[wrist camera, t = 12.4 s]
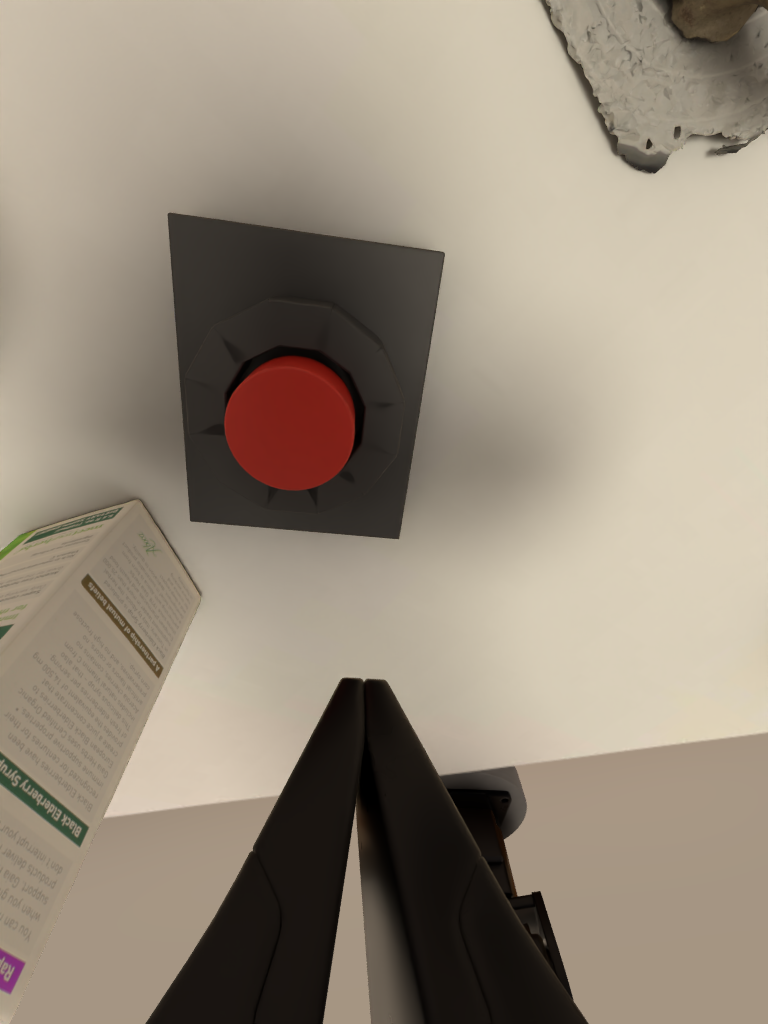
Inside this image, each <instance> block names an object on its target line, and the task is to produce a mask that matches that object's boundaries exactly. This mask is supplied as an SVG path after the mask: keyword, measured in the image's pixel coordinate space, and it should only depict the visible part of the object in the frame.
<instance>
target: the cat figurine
mask: <svg viewBox="0 0 768 1024" xmlns="http://www.w3.org/2000/svg"><path fill="white" fill-rule="evenodd" d="M546 3H547V5H548V6H550V7H551V9H550V13H551V20H552V22H553V24H554V25H555V26H556V28H558V29H560V30H561V31H562V32H563V33H564V35H565V37H566V40H567V42H568V48H567V50H568V53H569V55H570V56H571V57H572V58H573V59H574V60H575V61H576V62H577V63H578V64H582V65H581V66H582V67H583V69H584V75H585V77H586V78H587V79H588V80H589V82H590V84H591V86H592V89H593V95H594V97H596V96H597V97H598V99H599V103H601V104H602V105H600V106H599V107H598V111H599V113H602V115H603V117H604V118H605V119H606V121H605V124H606V126H607V128H608V131H609V133H610V134H613V135H616V136H617V137H618V144H617V150H618V155H621V154H622V155H625V157H626V160H627V162H629V163H631V164H632V166H633V167H634V168H635V167H638V170H645V171H647V172H649V173H656V172H657V171H658V170H660V169H661V168H662V167H663V166H664V165H665V164H666V161H667V159H668V157H669V155H670V154H671V152H672V151H677V150H678V149H679V148H681V149H683V144H685V141H686V138H688V137H689V136H690V135H691V134H700V135H706V136H709V135H714V134H717V133H720V132H722V135H723V136H724V137H726V138H727V137H728V136H729V139H730V140H731V139H735V138H736V136H737V137H738V138H737V139H742V140H748V139H750V140H748V142H747V143H745V144H739V145H735V146H727V147H726V146H725V145H723V148H720V149H719V150H718V151H717V152H715V153H717V155H718V154H727V153H737V152H738V151H739V150H740V149H741V148H743V147H746V146H747V145H748V144H749V143H750V142H751V141H753V140H755V139H756V138H757V137H759V136H760V135H761V134H765V131H766V130H767V129H768V0H546ZM552 12H553V13H552ZM678 126H681V134H680V138H678V139H675V138H674V129H675V127H678ZM648 139H650V140H651V142H652V143H653V145H652V147H651V148H650V149H645V148H646V144H647V140H648Z"/></svg>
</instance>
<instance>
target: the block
mask: <svg viewBox="0 0 768 1024" xmlns="http://www.w3.org/2000/svg"><path fill="white" fill-rule="evenodd" d="M168 226H169V239H170V253H171V266H172V280H173V293H174V307H175V320H176V334H177V347H178V361H179V374H180V388H181V401H182V415H183V428H184V442H185V455H186V469H187V482H188V496H189V509H190V521H192V522H204V523H216V524H227V525H239V526H251V527H263V528H274V529H286V530H298V531H309V532H321V533H333V534H345V535H356V536H368V537H380V538H392V539H399V536H400V530H401V524H402V518H403V512H404V505H405V499H406V493H407V487H408V480H409V474H410V468H411V462H412V456H413V449H414V443H415V437H416V431H417V424H418V418H419V412H420V406H421V400H422V393H423V387H424V381H425V375H426V369H427V362H428V356H429V350H430V344H431V337H432V331H433V325H434V319H435V313H436V306H437V300H438V294H439V288H440V282H441V275H442V269H443V263H444V257H445V253H444V252H440V251H433V250H426V249H419V248H412V247H405V246H398V245H391V244H384V243H377V242H370V241H363V240H356V239H350V238H343V237H336V236H329V235H322V234H315V233H308V232H301V231H294V230H287V229H280V228H273V227H266V226H259V225H252V224H245V223H238V222H231V221H225V220H218V219H211V218H204V217H197V216H190V215H183V214H176V213H168ZM282 356H302V357H308V358H311V359H314V360H316V361H318V362H321V363H323V364H324V365H326V366H327V367H329V368H330V369H332V370H333V371H334V372H335V373H336V374H337V375H338V376H339V377H340V378H341V379H342V381H343V382H344V383H345V385H346V386H347V388H348V390H349V392H350V394H351V397H352V399H353V403H354V408H355V434H354V444H353V448H352V451H351V454H350V456H349V458H348V461H347V462H346V464H345V465H344V467H343V468H342V469H341V470H340V471H339V473H338V474H336V475H335V476H334V477H333V478H332V479H330V480H329V481H327V482H325V483H323V484H321V485H319V486H317V487H314V488H310V489H305V490H283V489H278V488H275V487H271V486H269V485H266V484H264V483H262V482H260V481H258V480H257V479H255V478H254V477H252V476H251V475H250V474H249V473H248V472H246V471H245V470H244V469H243V468H242V466H241V465H240V464H239V463H238V462H237V460H236V459H235V457H234V456H233V454H232V452H231V450H230V448H229V445H228V442H227V439H226V435H225V427H224V421H225V412H226V408H227V405H228V402H229V400H230V398H231V396H232V394H233V392H234V391H235V390H236V388H237V387H238V386H239V385H240V384H241V383H242V382H243V381H244V380H245V379H246V378H247V377H248V376H249V375H250V374H251V373H252V372H253V371H254V370H255V369H256V368H257V367H259V366H260V365H261V364H263V363H265V362H267V361H269V360H271V359H274V358H277V357H282Z"/></svg>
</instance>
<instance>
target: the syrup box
mask: <svg viewBox="0 0 768 1024" xmlns="http://www.w3.org/2000/svg"><path fill="white" fill-rule="evenodd" d="M200 601H201V597H200V595H199V593H198V591H197V589H196V588H195V586H194V585H193V583H192V581H191V579H190V578H189V576H188V574H187V572H186V571H185V569H184V568H183V566H182V564H181V563H180V561H179V560H178V558H177V557H176V555H175V553H174V552H173V550H172V549H171V547H170V546H169V544H168V542H167V541H166V539H165V538H164V536H163V535H162V533H161V532H160V530H159V528H158V527H157V525H156V524H155V522H154V521H153V519H152V517H151V516H150V514H149V513H148V511H147V510H146V509H145V507H144V506H143V504H142V502H141V501H140V500H133V501H130V502H127V503H124V504H120V505H117V506H113V507H110V508H106V509H102V510H98V511H94V512H91V513H88V514H85V515H81V516H78V517H75V518H72V519H68V520H65V521H62V522H59V523H56V524H53V525H50V526H46V527H43V528H40V529H37V530H34V531H31V532H28V533H24V534H21V535H19V536H18V537H17V538H16V539H15V540H14V541H12V542H11V543H10V544H9V545H8V546H7V547H5V548H4V549H3V550H2V551H1V552H0V1024H9V1023H10V1022H11V1020H12V1018H13V1016H14V1014H15V1012H16V1010H17V1008H18V1006H19V1003H20V1001H21V999H22V997H23V994H24V992H25V990H26V988H27V985H28V983H29V981H30V979H31V976H32V974H33V972H34V970H35V968H36V965H37V963H38V961H39V958H40V956H41V954H42V952H43V949H44V947H45V945H46V943H47V941H48V938H49V936H50V934H51V932H52V930H53V928H54V925H55V923H56V921H57V919H58V916H59V914H60V912H61V910H62V907H63V905H64V903H65V901H66V898H67V896H68V894H69V892H70V890H71V888H72V886H73V884H74V881H75V879H76V877H77V875H78V872H79V870H80V868H81V866H82V863H83V861H84V859H85V857H86V854H87V852H88V850H89V848H90V845H91V843H92V841H93V839H94V837H95V835H96V832H97V830H98V828H99V826H100V823H101V821H102V819H103V817H104V815H105V813H106V810H107V808H108V806H109V804H110V802H111V800H112V798H113V795H114V793H115V791H116V789H117V786H118V784H119V782H120V780H121V777H122V775H123V773H124V771H125V768H126V766H127V764H128V762H129V759H130V757H131V755H132V753H133V751H134V749H135V746H136V744H137V742H138V740H139V737H140V735H141V733H142V731H143V728H144V726H145V724H146V722H147V720H148V717H149V715H150V713H151V710H152V708H153V706H154V704H155V702H156V699H157V697H158V695H159V693H160V691H161V688H162V686H163V684H164V681H165V679H166V677H167V675H168V673H169V670H170V668H171V666H172V664H173V661H174V659H175V657H176V655H177V653H178V651H179V648H180V646H181V644H182V642H183V640H184V637H185V635H186V632H187V631H188V628H189V626H190V624H191V622H192V620H193V618H194V615H195V613H196V611H197V609H198V606H199V604H200Z"/></svg>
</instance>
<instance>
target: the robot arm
mask: <svg viewBox="0 0 768 1024" xmlns="http://www.w3.org/2000/svg"><path fill="white" fill-rule="evenodd" d="M511 801H512V798H511V795H510V792H508V791H502V790H474V789H446V788H445V786H444V784H443V782H442V780H441V779H440V777H439V775H438V773H437V771H436V769H435V768H434V766H433V764H432V762H431V760H430V759H429V757H428V755H427V753H426V751H425V749H424V748H423V746H422V744H421V742H420V740H419V739H418V737H417V735H416V733H415V731H414V729H413V728H412V726H411V724H410V722H409V720H408V718H407V717H406V715H405V713H404V711H403V709H402V708H401V706H400V704H399V702H398V700H397V698H396V697H395V695H394V693H393V691H392V689H391V688H390V686H389V684H388V683H387V681H385V680H380V679H366V680H365V681H363V680H362V679H360V678H342V679H341V680H340V682H339V684H338V686H337V688H336V689H335V691H334V693H333V695H332V697H331V699H330V701H329V703H328V705H327V707H326V709H325V710H324V712H323V714H322V716H321V718H320V720H319V722H318V724H317V726H316V728H315V730H314V731H313V733H312V735H311V737H310V739H309V741H308V743H307V745H306V747H305V749H304V751H303V752H302V754H301V756H300V758H299V760H298V762H297V764H296V766H295V768H294V770H293V772H292V773H291V775H290V777H289V779H288V781H287V783H286V785H285V787H284V789H283V791H282V793H281V794H280V796H279V798H278V800H277V802H276V804H275V806H274V808H273V810H272V812H271V814H270V816H269V817H268V819H267V821H266V823H265V825H264V827H263V829H262V831H261V833H260V835H259V837H258V838H257V840H256V842H255V844H254V846H253V851H251V852H250V853H249V855H248V857H247V859H246V861H245V863H244V864H243V867H242V868H241V870H240V872H239V874H238V876H237V878H236V880H235V882H234V883H233V885H232V887H231V888H230V890H229V892H228V894H227V896H226V897H225V899H224V901H223V903H222V905H221V906H220V908H219V910H218V912H217V914H216V915H215V917H214V919H213V920H212V922H211V924H210V925H209V927H208V928H207V930H206V931H205V933H204V935H203V936H202V938H201V939H200V941H199V943H198V944H197V946H196V947H195V949H194V951H193V952H192V954H191V955H190V957H189V959H188V960H187V962H186V963H185V965H184V966H183V968H182V969H181V971H180V972H179V974H178V975H177V977H176V978H175V980H174V981H173V983H172V984H171V986H170V988H169V989H168V990H167V992H166V994H165V995H164V996H163V998H162V999H161V1001H160V1003H159V1004H158V1006H157V1007H156V1009H155V1010H154V1012H153V1013H152V1015H151V1016H150V1018H149V1019H148V1021H147V1022H146V1024H323V1018H324V1011H325V1005H326V998H327V992H328V985H329V978H330V972H331V965H332V958H333V952H334V945H335V939H336V932H337V925H338V918H339V912H340V906H341V899H342V892H343V886H344V879H345V872H346V866H347V859H348V852H349V846H350V839H351V833H352V826H353V819H354V812H355V806H356V815H357V832H358V846H359V860H360V874H361V887H362V902H363V914H364V915H363V916H364V930H365V944H366V957H367V972H368V985H369V999H370V1013H371V1024H588V1022H587V1021H586V1019H585V1018H584V1016H583V1015H582V1013H581V1012H580V1010H579V1009H578V1007H577V1006H576V1004H575V1003H574V1001H573V997H572V993H571V989H570V986H569V982H568V979H567V975H566V972H565V969H564V965H563V962H562V959H561V956H560V953H559V949H558V946H557V943H556V940H555V936H554V933H553V930H552V927H551V924H550V920H549V918H548V914H547V911H546V908H545V904H544V901H543V898H542V895H541V892H540V891H538V892H532V894H531V895H525V896H517V892H516V889H515V884H514V880H513V876H512V872H511V868H510V864H509V859H508V855H507V852H506V847H505V843H504V839H503V835H502V831H501V826H502V823H503V821H504V818H505V816H506V813H507V811H508V809H509V806H510V804H511Z"/></svg>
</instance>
